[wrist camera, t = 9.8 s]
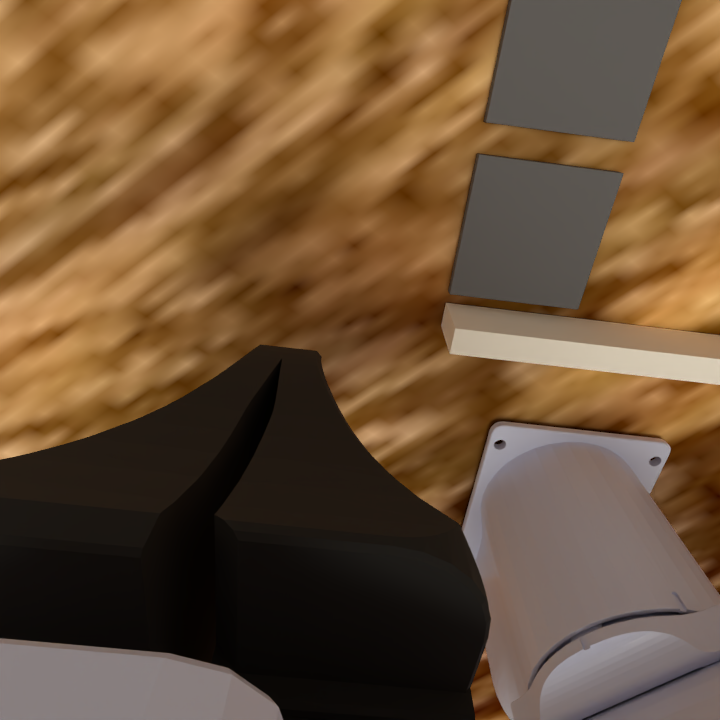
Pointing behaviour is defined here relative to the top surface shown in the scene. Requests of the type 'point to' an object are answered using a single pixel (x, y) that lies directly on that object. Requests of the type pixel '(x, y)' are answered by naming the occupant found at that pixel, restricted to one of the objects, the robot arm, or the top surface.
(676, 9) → the trap pits
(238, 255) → the top surface
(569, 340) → the lane box
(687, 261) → the top surface
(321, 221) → the top surface
